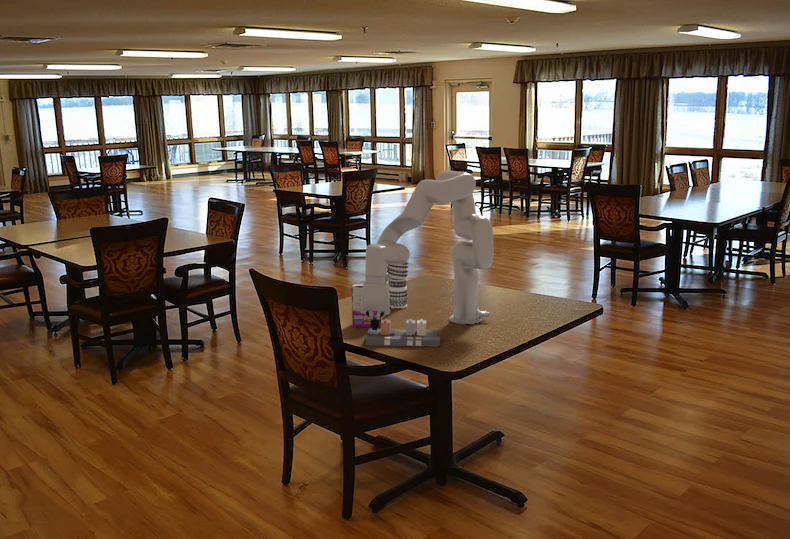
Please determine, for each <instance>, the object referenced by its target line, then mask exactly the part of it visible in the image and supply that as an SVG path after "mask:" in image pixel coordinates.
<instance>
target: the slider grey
mask: <svg viewBox="0 0 790 539" xmlns="http://www.w3.org/2000/svg"><path fill="white" fill-rule="evenodd" d="M405 329H406V335H412V334H414V336H415V329H416V319H412V318H409V319H406V321H405Z"/></svg>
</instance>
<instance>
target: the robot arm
mask: <svg viewBox="0 0 790 539" xmlns="http://www.w3.org/2000/svg"><path fill="white" fill-rule="evenodd" d="M476 183H477V181H476V179H475V177H474V175H472V174H471V173H468V172H463V171H456V170H442V171H440V172H438V174H437V175H436V178H435V179H423V180H420V181H419V182H418V183H417V185H416V187H415V189H414V190H413V192H412V194H411V195H410V198H409V200H408V202H407V203H406V205H405V207H404V209H403V211H402V212H401V213H400V215H398V216H397V217H396V218H394V219H393V220H392V221H391V222H390V223H389V224H388V225H386V227H385V228H384V230H383V231H382V233H381V235H379V237H378V240H377V241H376V243H373V244H368V245H367V246H366V248H365V274H364V276H365V278H364V280H365V281H363V282H362V283H363V288H362V296H361V310H360V312H361V313H363V314H366V315H367V316H368V317H369V318H370V319H371V327H370V328H371V329H372V330H375V331H377V329H380V327H379V319H380V318H381V317H382V316H383V315H386V316H388V315H390V313H391V308H390V289H389V283H388V282H389V280H391V277H389V276H387V274H388V273H387V266H388V264H391V265H401V264H404V263H405V262H408V261H409V259H410V256H411V253H410V249H409V248H408V247H407V246H406V245H404V244H401V243H398V241H399V239H400V238H401V237H402V236H403V235H404V234H406V233H407V232H409V231H412V230H414V229H417V228H419V227H421V226H423V225H424V223H425V221H426V219H427V217H428V215H429V213H430V212H431V210H432V208H433V206H434V205H439V206H441V205H448V204H451V206H452V207H451V208H452V218H453V228H454V229H453V230H454V233H455V235H456V236H457V237H458V238H462V239H465V240H460V241H457V242H456V243H455V244H454V246H453V247H452V249H451V250H452V251H451V258H452V264H453V265H452V266H453V275H454V276H453V280H454V281H453V314H451V315H450V316H449V322H451V323H453V324H456V325H457V324H458V325H465V324H470V325H475V323H477V324H480V323H481V322H482V320H483V319H482V318H483V317H484V318H490V317H491V315H490V314H491V312H490V311H487V310H483V311H482V310H480V308H479V280H480V279H479V278H480V277H479V276H480V275H479V271H478V270H487V269H489V268H490V267H491V266H492V264H493V262H494V258H495V250H494V249H495V247H494V229H493V226H492V225H493V224H492V223H491V221H490V219H489V218H488V217H486V216H483V215H478V214H477V212H476V205H475V204H476V203H475V199H474V195H473V193H474V190H475V189H476V185H477V184H476ZM373 311H377V316H376V318H375V317H374V313H373ZM387 314H388V315H387ZM479 322H480V323H479Z"/></svg>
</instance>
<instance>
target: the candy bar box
mask: <svg viewBox="0 0 790 539" xmlns="http://www.w3.org/2000/svg"><path fill="white" fill-rule="evenodd" d="M363 283H364V282H361V283H360V282H359V283H358V282H357V283H354V282H353V283H351V309H352V310H351V311H352V312H351V316H352V328H372V327H371V319H370V318H369V317H368V316H367V315H366V314H363V313H361V312H360V310H361V296H362V288H363ZM373 313H374V317H375V318H376V316H377V311H373ZM382 320H383V319H382V317H381V318H380V319H379V328H381V321H382Z"/></svg>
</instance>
